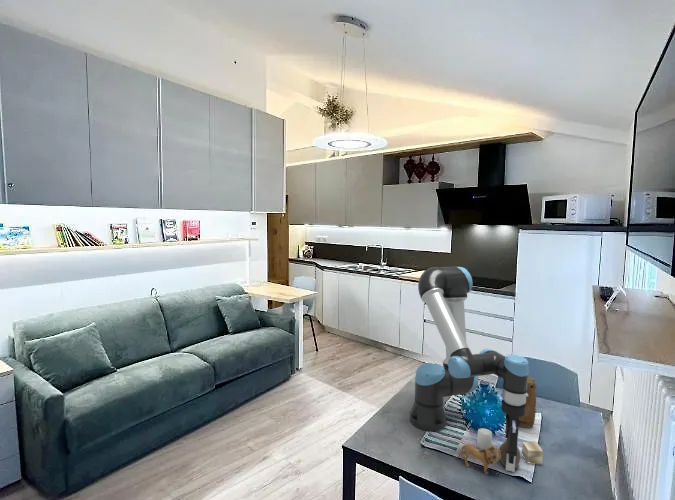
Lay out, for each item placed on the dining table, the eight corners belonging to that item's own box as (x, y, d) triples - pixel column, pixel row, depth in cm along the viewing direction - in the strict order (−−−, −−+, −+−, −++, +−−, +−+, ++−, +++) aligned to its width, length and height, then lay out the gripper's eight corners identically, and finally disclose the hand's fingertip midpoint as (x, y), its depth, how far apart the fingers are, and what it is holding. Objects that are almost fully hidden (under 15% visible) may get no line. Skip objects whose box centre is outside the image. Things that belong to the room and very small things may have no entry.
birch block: (527, 463, 133) (528, 450, 133) (521, 454, 138) (522, 441, 138) (542, 464, 133) (543, 451, 132) (535, 455, 138) (537, 442, 137)
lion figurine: (500, 469, 130) (502, 444, 129) (499, 478, 125) (501, 453, 124) (456, 455, 136) (457, 432, 136) (453, 464, 132) (455, 440, 131)
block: (528, 419, 162) (532, 375, 160) (535, 429, 154) (539, 382, 152) (502, 417, 163) (505, 373, 161) (508, 427, 156) (511, 380, 153)
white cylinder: (476, 449, 140) (477, 434, 140) (476, 441, 145) (477, 427, 144) (491, 452, 139) (492, 437, 138) (490, 444, 143) (491, 430, 143)
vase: (520, 472, 128) (522, 448, 127) (498, 467, 130) (500, 444, 129) (518, 460, 135) (520, 437, 134) (497, 455, 137) (499, 433, 136)
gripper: (529, 417, 120) (524, 485, 122) (522, 390, 138) (517, 449, 140) (503, 412, 122) (499, 479, 125) (500, 386, 141) (496, 445, 143)
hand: (509, 463), depth 132 cm, fingers closed on vase, 7 cm apart
